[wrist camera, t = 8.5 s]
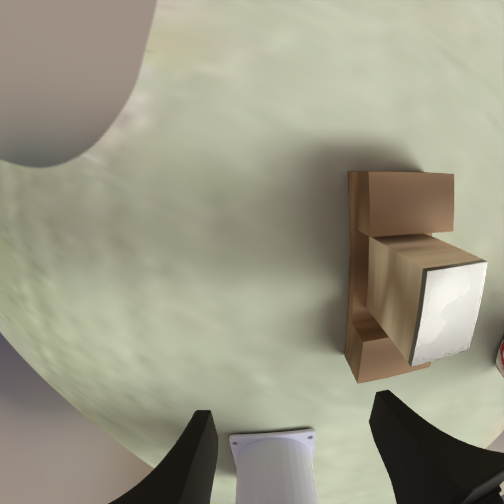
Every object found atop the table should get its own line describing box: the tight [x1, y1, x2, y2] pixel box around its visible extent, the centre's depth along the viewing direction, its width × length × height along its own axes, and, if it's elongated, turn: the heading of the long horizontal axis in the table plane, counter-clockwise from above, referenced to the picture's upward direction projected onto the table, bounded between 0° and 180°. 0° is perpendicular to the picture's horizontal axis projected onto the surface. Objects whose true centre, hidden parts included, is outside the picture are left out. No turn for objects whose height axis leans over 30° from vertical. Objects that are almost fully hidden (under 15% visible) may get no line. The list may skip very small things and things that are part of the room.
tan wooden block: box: [366, 233, 487, 367], centre depth 15 cm, size 5×4×7 cm
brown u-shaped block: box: [345, 171, 454, 384], centre depth 17 cm, size 14×6×4 cm, turn 5°
